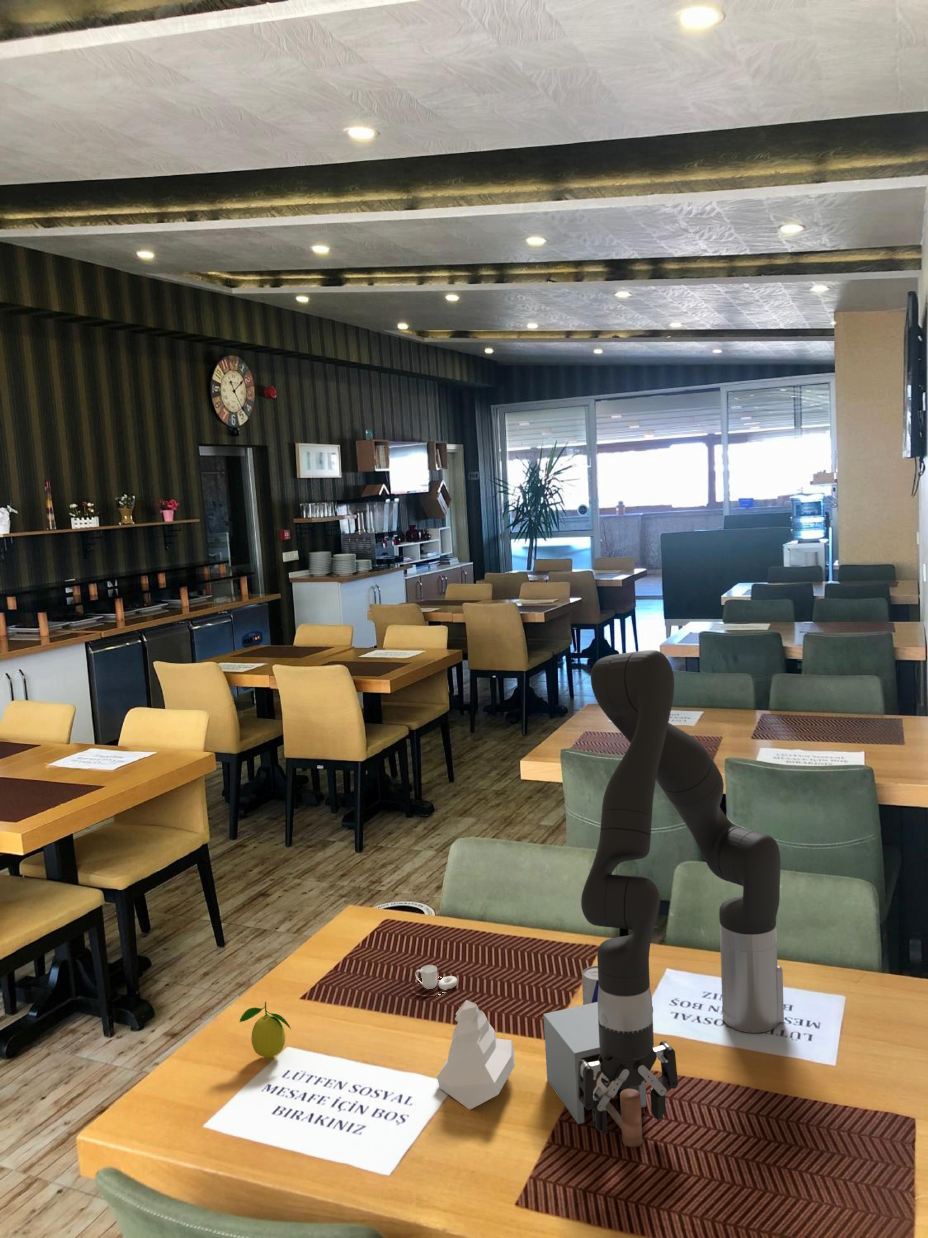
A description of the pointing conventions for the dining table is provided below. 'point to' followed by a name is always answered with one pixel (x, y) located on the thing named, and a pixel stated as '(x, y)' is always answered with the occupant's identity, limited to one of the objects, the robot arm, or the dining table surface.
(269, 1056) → the lemon
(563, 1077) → the block
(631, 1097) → the brown square-headed paddle
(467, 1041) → the white stepped sculpture
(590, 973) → the energy drink
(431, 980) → the mug and donut
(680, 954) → the dining table surface
